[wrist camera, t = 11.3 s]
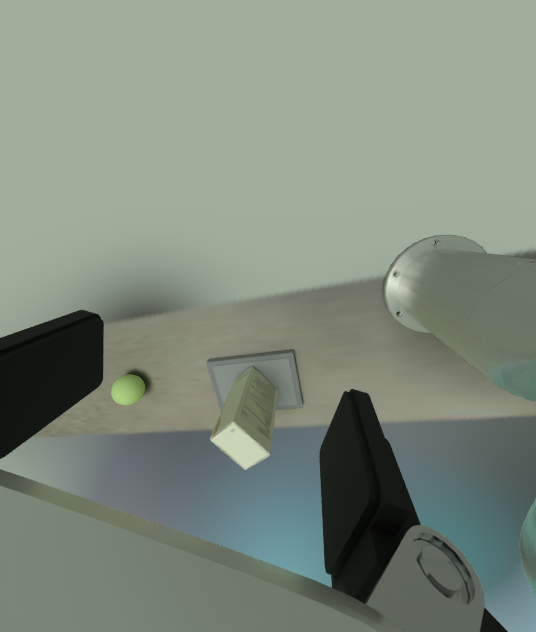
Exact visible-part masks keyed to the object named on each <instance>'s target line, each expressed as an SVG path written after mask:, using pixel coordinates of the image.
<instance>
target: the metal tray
mask: <svg viewBox="0 0 536 632" xmlns="http://www.w3.org/2000/svg"><path fill="white" fill-rule="evenodd" d="M207 365H208V369H209V372H210V375H211V379H212V382H213V386H214V389H215V392H216V396H217V399H218V402H219V406H220V409H221V411H222V409H223V406H224V404H225V402H226V399H227V397H228V394H229V392H230V390H231V387H232V385H233V383H234V380H235V379H236V378H237V377H239V376H240V375H241V374H242V373H243V372H245V371H246V370H247V369H249V368H250V367H251V366H253V367H254V368H255V369H256V370H257V371H258V372H259V373H260V374H262V375H263V376H264V377H265V378H266V379H267V380H268V381H269V382H270V383H271V384H272V385H273V386H274V387H275V388H276V389H277V390H278V396H277V403H276V410H282V409H296V408H303V401H302V395H301V390H300V384H299V379H298V373H297V368H296V362H295V357H294V351H293V350H286V351H277V352H268V353H260V354H251V355H242V356H234V357H225V358H217V359H209V360H208V361H207Z"/></svg>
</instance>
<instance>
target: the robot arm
mask: <svg viewBox="0 0 536 632" xmlns="http://www.w3.org/2000/svg"><path fill="white" fill-rule="evenodd" d="M433 241H435V244H434V245H432V243H433ZM394 271H396V273H395V274H394V275H393V272H394ZM383 294H384V301H385V304H386V307H387V309H388V310H389V312H390V314H391V315H392V316H393V317H394V318H395V319H396V320H397V321H398V322H399V323H400V324H402V325H403V326H405V327H407V328H409V329H411V330H414V331H417V332H423V333H432V334H433V335H434V336H435V337H437V338H438V339H439V340H440V341H442V342H443V343H444V344H445V345H446V346H448V347H449V348H450V349H451V350H453V351H454V352H455V353H456V354H457V355H459V356H460V357H461V358H462V359H464V360H465V361H466V362H467V363H468V364H470V365H471V366H472V367H474V368H475V369H476V370H477V371H479V372H480V373H481V374H482V375H483V376H485V377H486V378H487V379H488V380H490V381H491V382H492V383H494V384H495V385H497V386H498V387H500V388H502V389H503V390H505V391H507V392H509V393H511V394H513V395H516V396H518V397H521V398H524V399H527V400H530V401H535V402H536V260H534V259H526V258H519V257H511V256H503V255H495V254H487V253H486V251H485V250H484V249H483V248H482V247H481V246H480V245H479V244H477V243H476V242H474V241H472V240H470V239H468V238H465V237H461V236H456V235H440V236H433V237H429V238H425V239H423V240H420V241H418V242H416V243H414V244H412V245H411V246H409V247H408V248H406V249H405V250H404V251H403V252H402V253H401V254H400V255H399V256H398V257H397V258H396V259H395V260H394V262H393V263H392V264H391V266H390V268H389V270H388V272H387V274H386V277H385V281H384V288H383ZM398 311H399V313H398V314H396V313H397V312H398ZM103 331H104V324H103V320H101V317H100V316H99V315H98V314H95V313H91V312H88V311H85V310H79V311H76V312H73V313H71V314H68V315H65V316H62V317H59V318H56V319H53V320H51V321H48V322H45V323H42V324H39V325H36V326H34V327H30V328H28V329H25V330H22V331H19V332H16V333H13V334H10V335H7V336H5V337H2V338H0V459H1V458H3V457H5V456H6V455H7V454H9V453H10V452H12V451H13V450H14V449H16V448H17V447H18V446H20V445H21V444H22V443H24V442H25V441H26V440H28V439H29V438H31V437H32V436H33V435H35V434H36V433H37V432H39V431H40V430H41V429H43V428H44V427H45V426H47V425H48V424H49V423H51V422H52V421H53V420H55V419H56V418H57V417H59V416H60V415H61V414H63V413H64V412H65V411H67V410H68V409H69V408H71V407H72V406H74V405H75V404H76V403H78V402H79V401H80V400H82V399H83V398H84V397H86V396H87V395H88V394H90V393H91V392H92V391H94V390H95V389H96V388H98V387H99V386H100V384H101V383H102V380H103ZM320 477H321V497H322V517H323V537H324V559H325V569H326V572H327V573H328V574H331V577H332V588H331V587H328V586H326V585H324V584H322V583H319V582H317V581H315V580H312V579H309V578H307V577H304V576H301V575H299V574H296V573H293V572H291V571H288V570H285V569H283V568H280V567H277V566H275V565H272V564H269V563H267V562H264V561H261V560H258V559H256V558H253V557H251V556H248V555H245V554H243V553H240V552H237V551H234V550H231V549H228V548H226V547H223V546H220V545H217V544H214V543H211V542H209V541H205V540H203V539H200V538H197V537H194V536H192V535H189V534H186V533H183V532H180V531H177V530H174V529H172V528H169V527H166V526H163V525H160V524H157V523H155V522H152V521H149V520H146V519H143V518H140V517H137V516H134V515H132V514H129V513H126V512H123V511H120V510H117V509H114V508H111V507H109V506H106V505H103V504H100V503H97V502H94V501H91V500H88V499H85V498H83V497H80V496H77V495H73V494H71V493H68V492H65V491H62V490H59V489H56V488H54V487H51V486H48V485H45V484H42V483H39V482H36V481H33V480H30V479H27V478H24V477H21V476H19V475H16V474H13V473H10V472H6V471H4V470H0V632H507V630H505V628H504V627H503V626H502V625H501V624H500V623H499V622H498V621H497V620H496V619H495V618H494V617H493V616H492V615H491V614H490V613H489V612H488V611H487V610H486V609H485V607H484V606H485V605H484V592H483V589H482V586H481V583H480V580H479V578H478V576H477V574H476V573H475V571H474V569H473V567H472V565H471V564H470V563H469V561H468V560H467V559H466V557H465V556H464V555H463V553H462V552H461V551H460V550H459V549H458V548H457V547H456V546H455V545H454V544H453V543H452V542H451V541H450V540H449V539H447V538H446V537H445V536H443V535H442V534H441V533H439V532H437V531H436V530H434V529H432V528H430V527H426V526H422V525H421V524H420V522H419V519H418V517H417V514H416V511H415V509H414V506H413V503H412V501H411V498H410V495H409V493H408V490H407V488H406V485H405V482H404V480H403V477H402V474H401V472H400V469H399V467H398V464H397V462H396V459H395V456H394V454H393V451H392V448H391V446H390V443H389V442H388V440H387V439H385V437H384V434H383V432H382V429H381V426H380V423H379V421H378V418H377V415H376V412H375V410H374V407H373V404H372V402H371V399H370V396H369V394H368V393H364V392H361V391H358V390H354V389H351V390H350V391H349V392H347V391H345V392H344V393H343V395H342V398H341V400H340V402H339V405H338V407H337V410H336V412H335V414H334V417H333V419H332V422H331V424H330V426H329V429H328V431H327V434H326V436H325V438H324V441H323V444H322V446H321V449H320ZM520 553H521V559H522V564H523V568H524V571H525V575H526V577H527V579H528V582H529V584H530V586H531V588H532V591H533V593H534V595H535V596H536V499H535V501H534V503H533V505H532V507H531V508H530V510H529V512H528V515H527V517H526V519H525V522H524V524H523V527H522V531H521V536H520Z"/></svg>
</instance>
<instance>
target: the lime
mask: <svg viewBox="0 0 536 632" xmlns="http://www.w3.org/2000/svg"><path fill="white" fill-rule="evenodd" d="M144 392H145V384H144V381H143V380H142V379H141V378H140V377H139V376H136V375H131V374H130V375H124V376H122V377H120V378H119V379H117V380H116V381H115V383H114V384H113V386H112V390H111V394H112V397H113V399H114V401H115V402H117V403H118V404H121V405H131V404H134V403H136V402H137V401H139V400H140V399H141V398H142V396H143V394H144Z"/></svg>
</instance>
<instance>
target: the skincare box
mask: <svg viewBox="0 0 536 632" xmlns="http://www.w3.org/2000/svg"><path fill="white" fill-rule="evenodd" d="M277 396H278V390H277V389H276V388H275V387H274V386H273V385H272V384H271V383H270V382H269V381H268V380H267V379H266V378H265V377H264V376H263V375H262V374H260V373H259V372H258V371H257V370H256V369H255V368H254V367H253V366H251V367H250V368H249V369H247V370H246V371H245V372H243V373H242V374H241V375H240V376H239V377H237V378H236V379H235V380H234V383H233V385H232V387H231V390H230V392H229V394H228V397H227V399H226V402H225V404H224V406H223V409H222V411H221V413H220V416H219V418H218V421H217V423H216V425H215V428H214V430H213V433H212V435H211V437H210V440H211V441H212V442H213V443H214V444H215V445H216V446H218V447H219V448H220V449H221V450H222V451H223V452H224V453H226V454H227V455H228V456H229V457H230V458H231V459H233V460H234V461H235V462H236V463H238V464H239V465H240V466H241V467H242V468H244V469H245V470H246V469H248V468H249V467H251V466H253V465H254V464H256V463H258V462H260V461H262V460H263V459H265V458H267V457H268V456H269V455H270V450H271V441H272V433H273V427H274V419H275V411H276V403H277Z"/></svg>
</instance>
